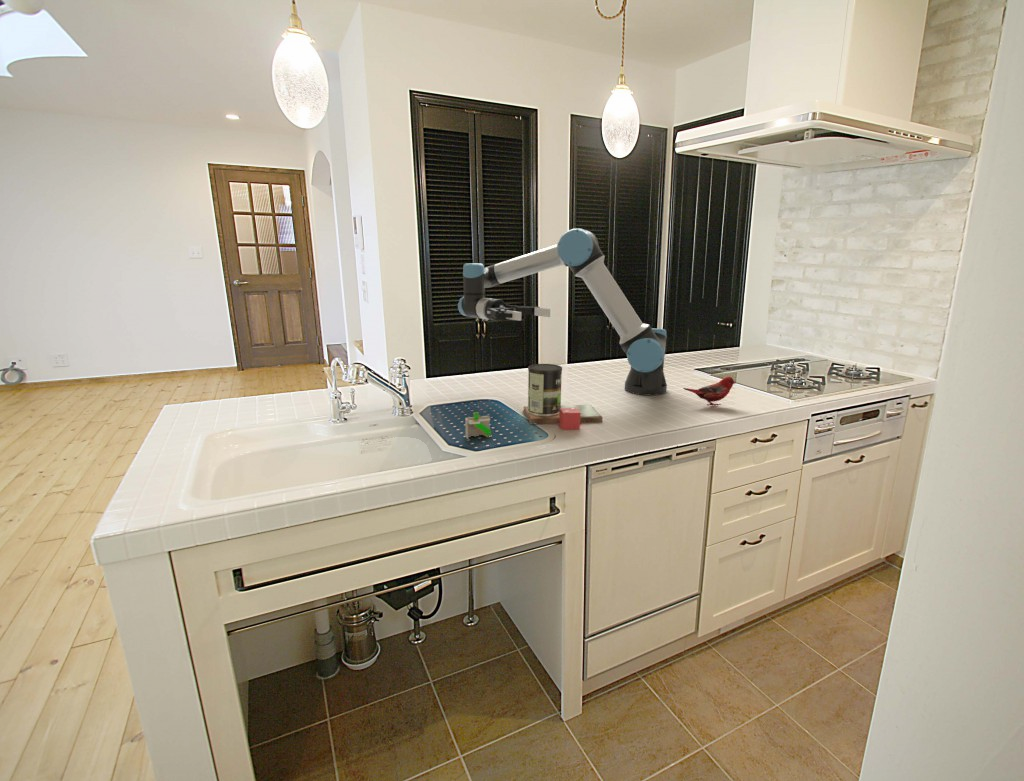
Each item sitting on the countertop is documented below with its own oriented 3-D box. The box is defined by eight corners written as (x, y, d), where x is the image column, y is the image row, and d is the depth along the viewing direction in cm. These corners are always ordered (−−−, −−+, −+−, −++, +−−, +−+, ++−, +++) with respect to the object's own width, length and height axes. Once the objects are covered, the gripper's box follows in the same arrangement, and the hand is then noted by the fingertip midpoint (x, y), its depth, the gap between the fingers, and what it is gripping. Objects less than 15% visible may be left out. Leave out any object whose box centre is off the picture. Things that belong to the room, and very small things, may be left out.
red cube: (575, 423, 157) (576, 407, 155) (579, 429, 152) (580, 412, 151) (558, 424, 156) (559, 407, 155) (562, 429, 151) (563, 412, 150)
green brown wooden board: (590, 409, 171) (590, 404, 171) (602, 421, 159) (602, 416, 158) (523, 411, 168) (523, 406, 168) (530, 424, 156) (530, 418, 155)
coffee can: (562, 408, 166) (564, 364, 162) (558, 417, 156) (560, 371, 153) (530, 405, 168) (531, 362, 164) (524, 415, 158) (525, 369, 155)
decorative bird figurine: (735, 407, 175) (738, 377, 172) (682, 407, 174) (685, 378, 171) (731, 404, 178) (734, 375, 175) (679, 404, 177) (682, 375, 174)
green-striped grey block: (493, 440, 144) (493, 412, 141) (469, 443, 141) (468, 414, 139) (489, 435, 147) (489, 408, 145) (465, 438, 145) (465, 410, 143)
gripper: (516, 317, 196) (560, 322, 181) (464, 323, 179) (507, 329, 164) (517, 296, 194) (560, 300, 179) (464, 300, 177) (507, 305, 162)
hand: (535, 314), depth 172 cm, fingers open, 13 cm apart
